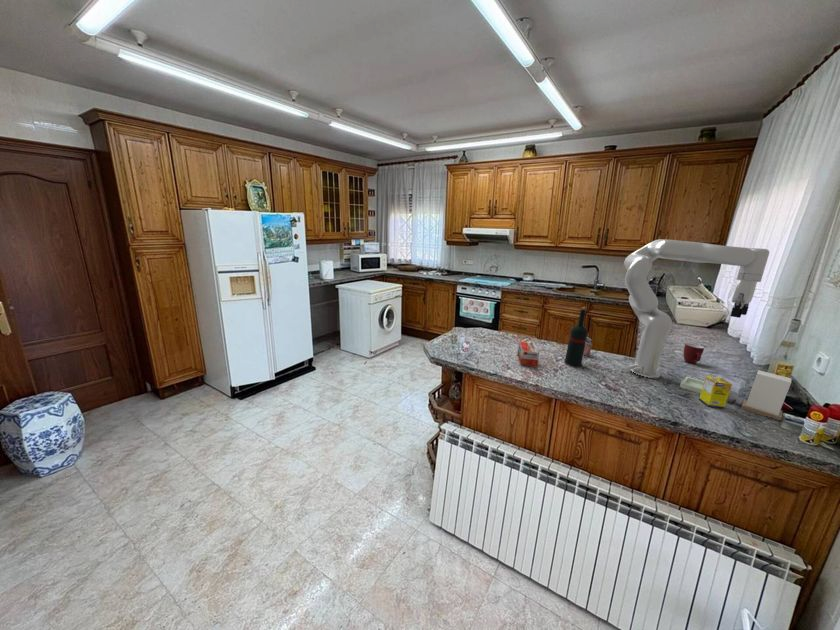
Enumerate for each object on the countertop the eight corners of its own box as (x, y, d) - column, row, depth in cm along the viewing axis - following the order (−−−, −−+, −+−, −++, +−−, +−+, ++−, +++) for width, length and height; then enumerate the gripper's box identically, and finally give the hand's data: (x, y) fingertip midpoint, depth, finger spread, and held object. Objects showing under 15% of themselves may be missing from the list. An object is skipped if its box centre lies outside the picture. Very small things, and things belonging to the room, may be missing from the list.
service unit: (780, 421, 122) (795, 384, 118) (740, 408, 130) (753, 373, 126) (781, 414, 128) (795, 378, 124) (743, 402, 136) (755, 368, 131)
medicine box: (537, 367, 159) (539, 352, 157) (520, 365, 160) (522, 350, 158) (531, 356, 174) (534, 342, 172) (516, 354, 175) (518, 340, 173)
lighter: (577, 351, 184) (580, 335, 182) (582, 351, 185) (586, 335, 182) (585, 357, 177) (589, 339, 174) (591, 357, 177) (594, 340, 174)
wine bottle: (579, 360, 171) (590, 305, 163) (582, 367, 162) (594, 310, 154) (563, 358, 173) (573, 303, 165) (565, 365, 164) (576, 308, 156)
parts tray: (714, 398, 138) (715, 393, 137) (679, 387, 146) (680, 383, 146) (718, 390, 145) (719, 386, 145) (685, 380, 154) (686, 376, 154)
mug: (706, 368, 171) (712, 350, 168) (690, 366, 172) (695, 349, 169) (691, 360, 181) (696, 343, 179) (677, 359, 182) (681, 342, 179)
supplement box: (724, 409, 129) (732, 384, 126) (707, 406, 130) (715, 382, 127) (714, 401, 135) (722, 377, 132) (698, 399, 136) (705, 375, 133)
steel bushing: (729, 404, 133) (732, 395, 132) (716, 398, 138) (719, 389, 137) (738, 403, 134) (741, 395, 133) (725, 397, 139) (728, 389, 138)
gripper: (742, 275, 147) (732, 311, 151) (732, 277, 137) (721, 316, 142) (766, 277, 141) (754, 315, 145) (756, 279, 131) (744, 320, 136)
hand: (738, 315), depth 144 cm, fingers open, 9 cm apart
